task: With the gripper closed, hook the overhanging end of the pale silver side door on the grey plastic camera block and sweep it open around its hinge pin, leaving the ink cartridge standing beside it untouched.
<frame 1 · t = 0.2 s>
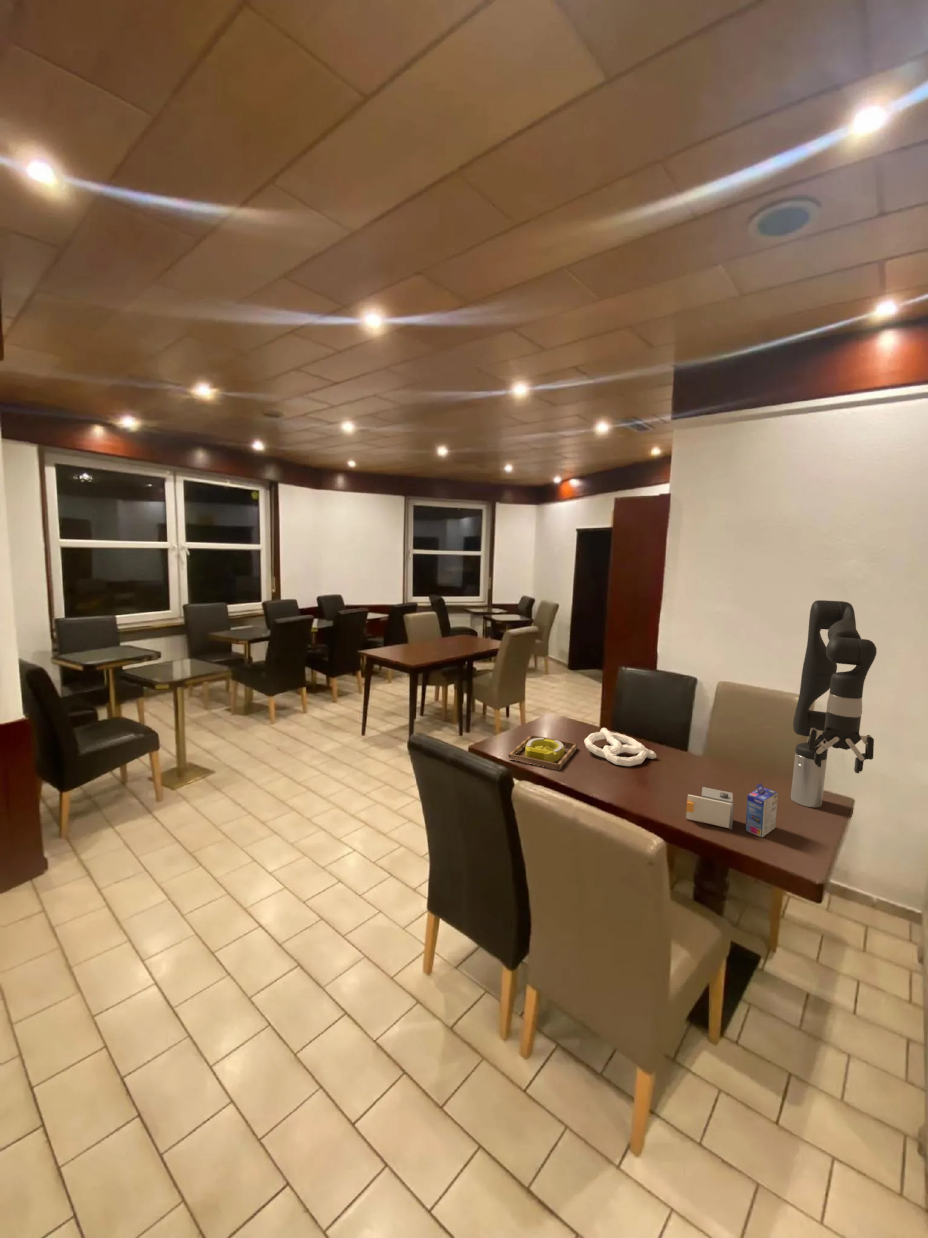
hand: (837, 769, 138), 29 cm above the table, fingers open, 8 cm apart
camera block: (714, 820, 167), on the table
door: (709, 812, 163), point 4 cm above the table, hinge at 0.0°
wooden tray: (543, 754, 221), on the table
ink cartridge box: (759, 830, 162), on the table
ashtray: (543, 755, 221), resting in wooden tray
pretzel: (616, 755, 222), on the table
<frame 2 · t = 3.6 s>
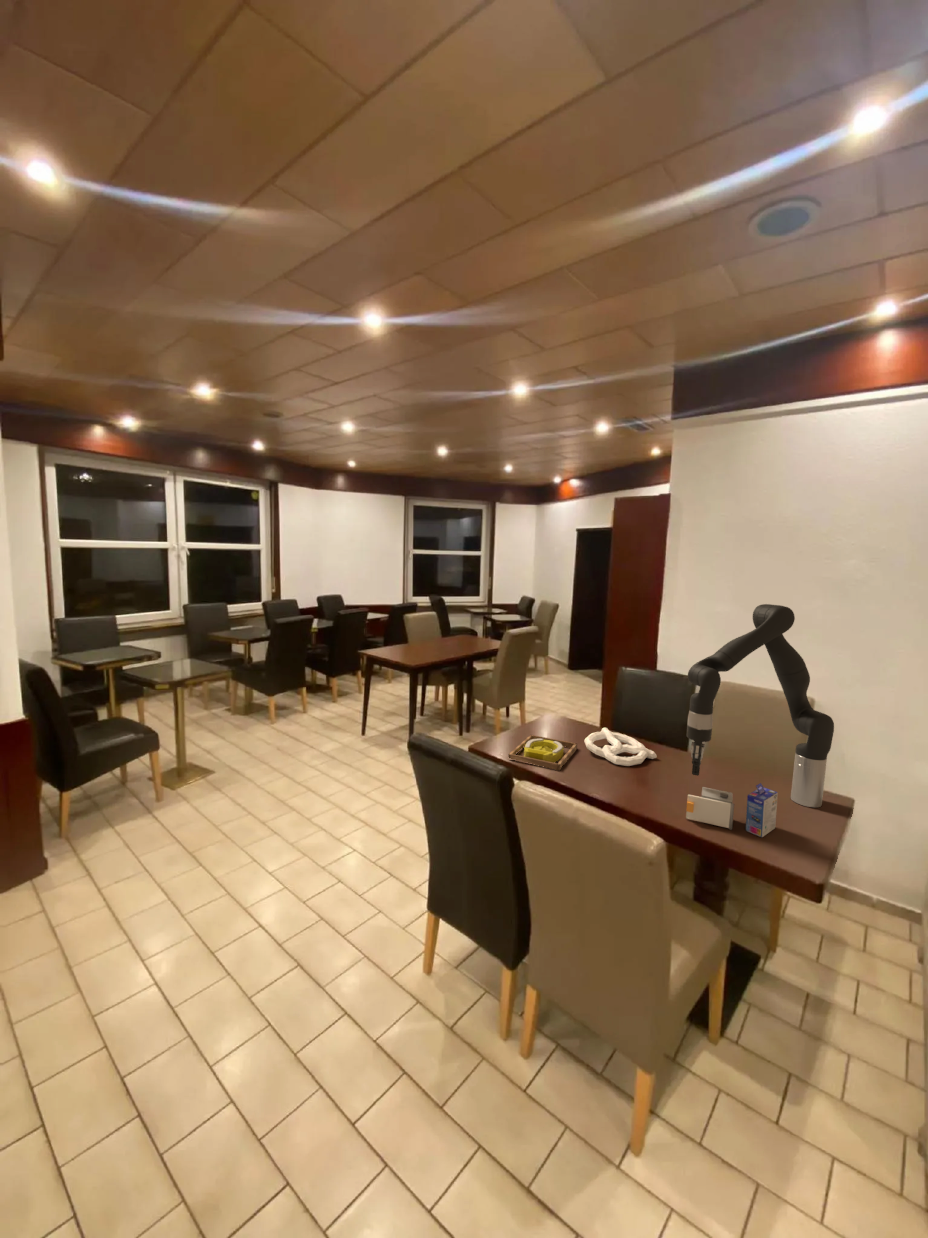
hand: (695, 774, 172), 13 cm above the table, fingers closed
ashtray: (542, 756, 220), resting in wooden tray
everything else where it was.
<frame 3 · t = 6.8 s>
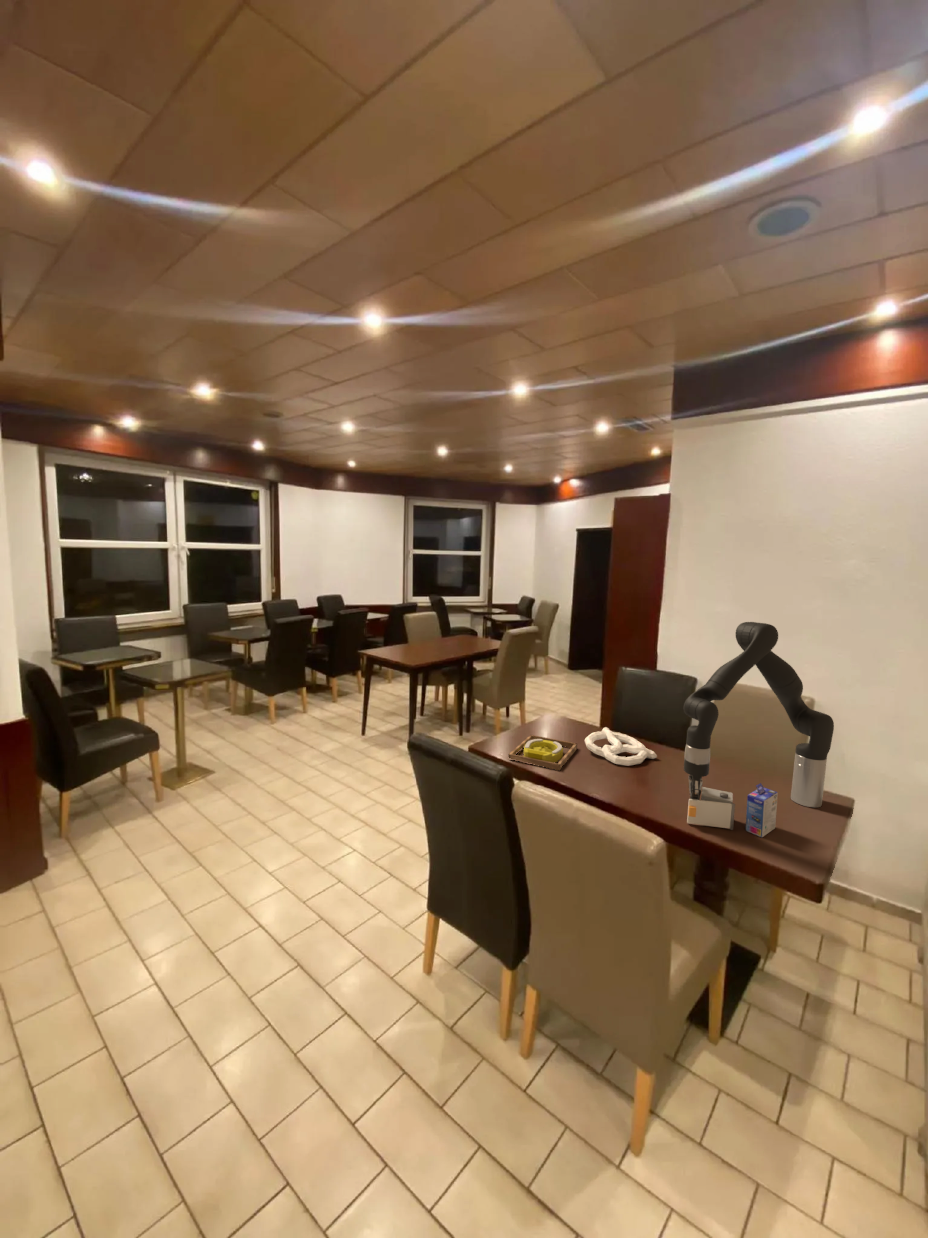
hand: (693, 808, 167), 4 cm above the table, fingers closed
door: (711, 814, 162), point 4 cm above the table, hinge at 14.3°, touching hand
everything else where it was.
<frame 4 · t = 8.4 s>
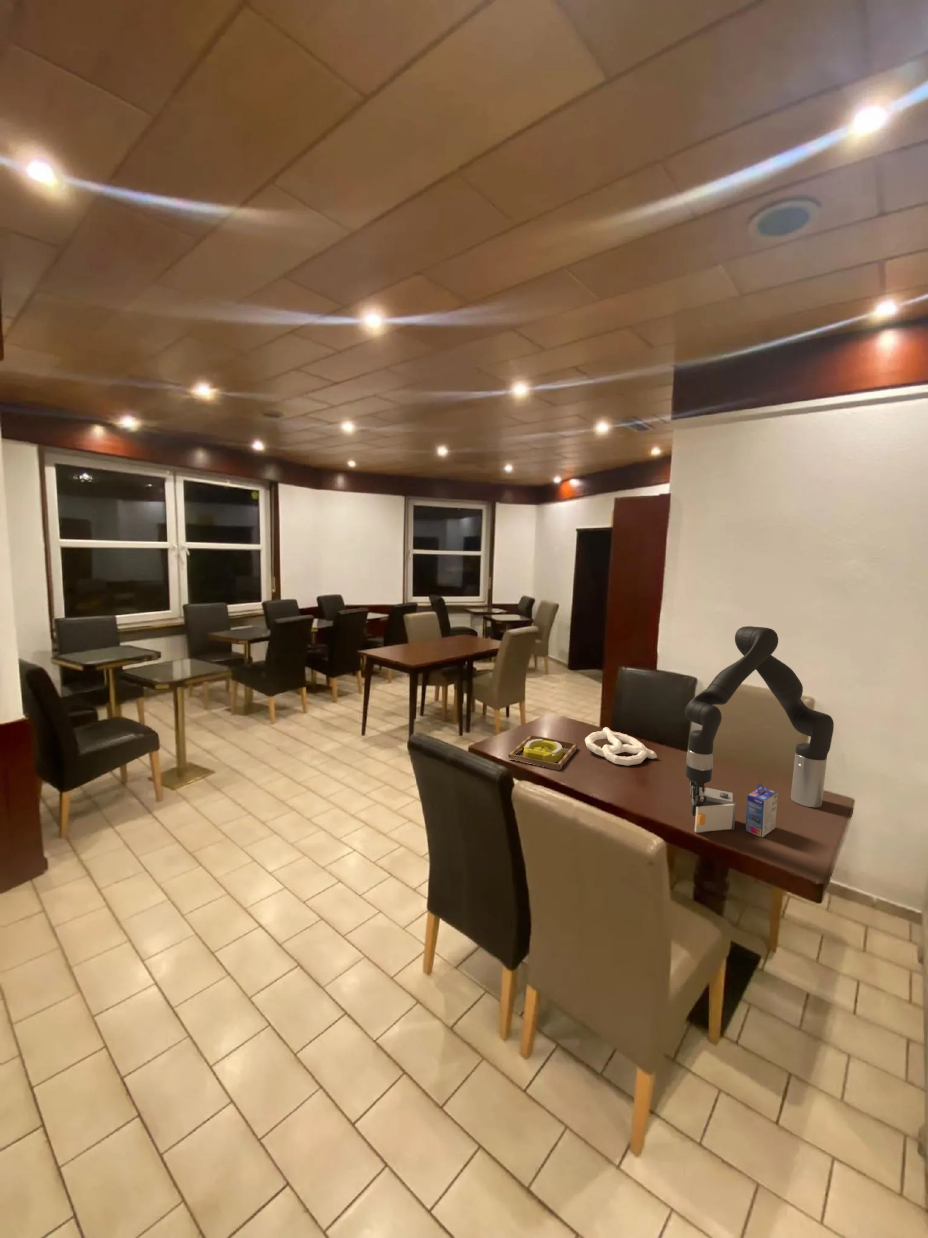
hand: (695, 815, 163), 4 cm above the table, fingers closed
door: (716, 818, 159), point 4 cm above the table, hinge at 38.1°, touching hand
everything else where it was.
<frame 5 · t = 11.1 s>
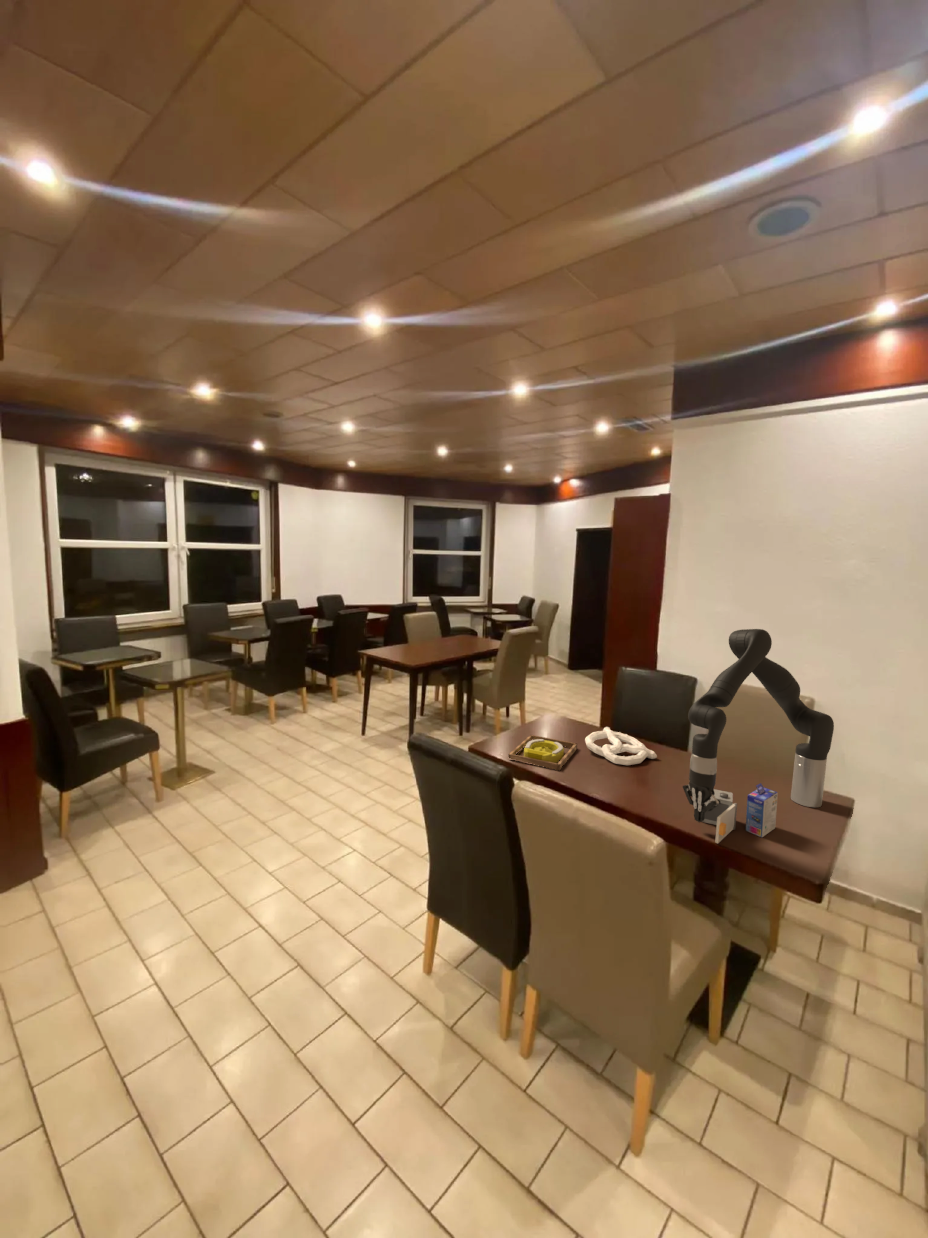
hand: (698, 820, 160), 3 cm above the table, fingers closed
door: (728, 823, 157), point 4 cm above the table, hinge at 70.3°
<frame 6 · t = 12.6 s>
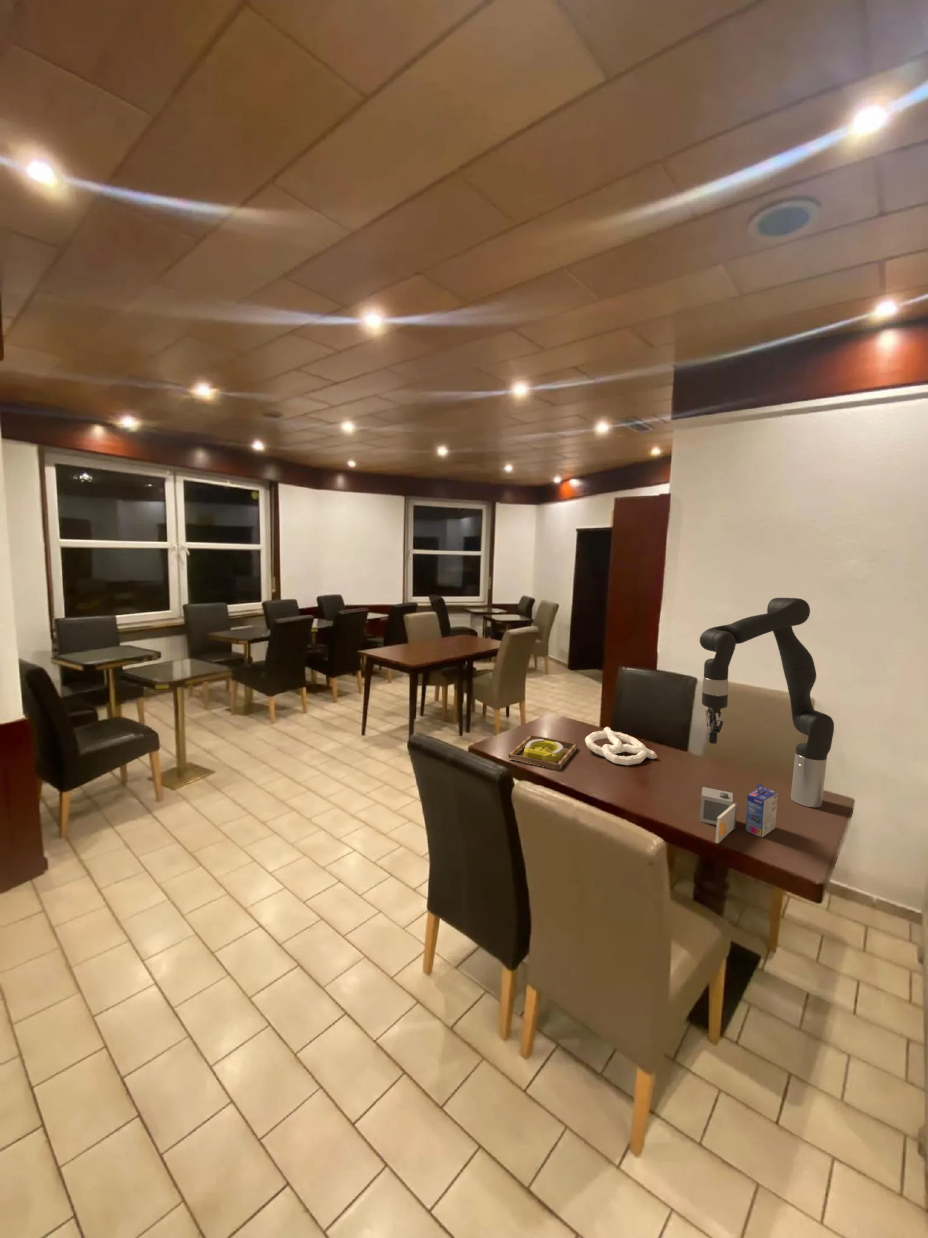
hand: (712, 742, 166), 26 cm above the table, fingers closed
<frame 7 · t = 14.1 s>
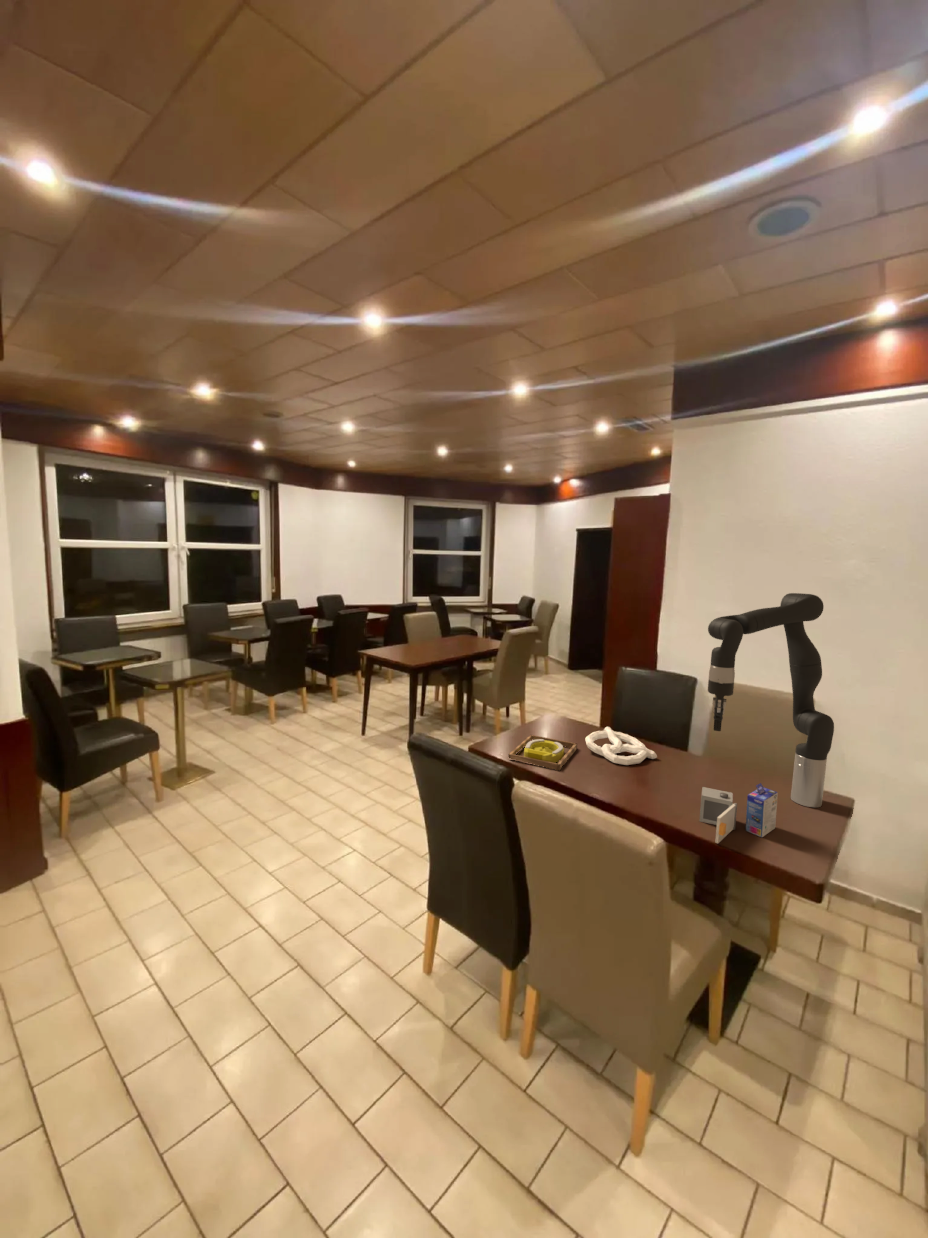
hand: (717, 730, 168), 29 cm above the table, fingers closed
at the end: door at +70° (first picture: +0°); ink cartridge box moved 0.2 cm from its start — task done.
